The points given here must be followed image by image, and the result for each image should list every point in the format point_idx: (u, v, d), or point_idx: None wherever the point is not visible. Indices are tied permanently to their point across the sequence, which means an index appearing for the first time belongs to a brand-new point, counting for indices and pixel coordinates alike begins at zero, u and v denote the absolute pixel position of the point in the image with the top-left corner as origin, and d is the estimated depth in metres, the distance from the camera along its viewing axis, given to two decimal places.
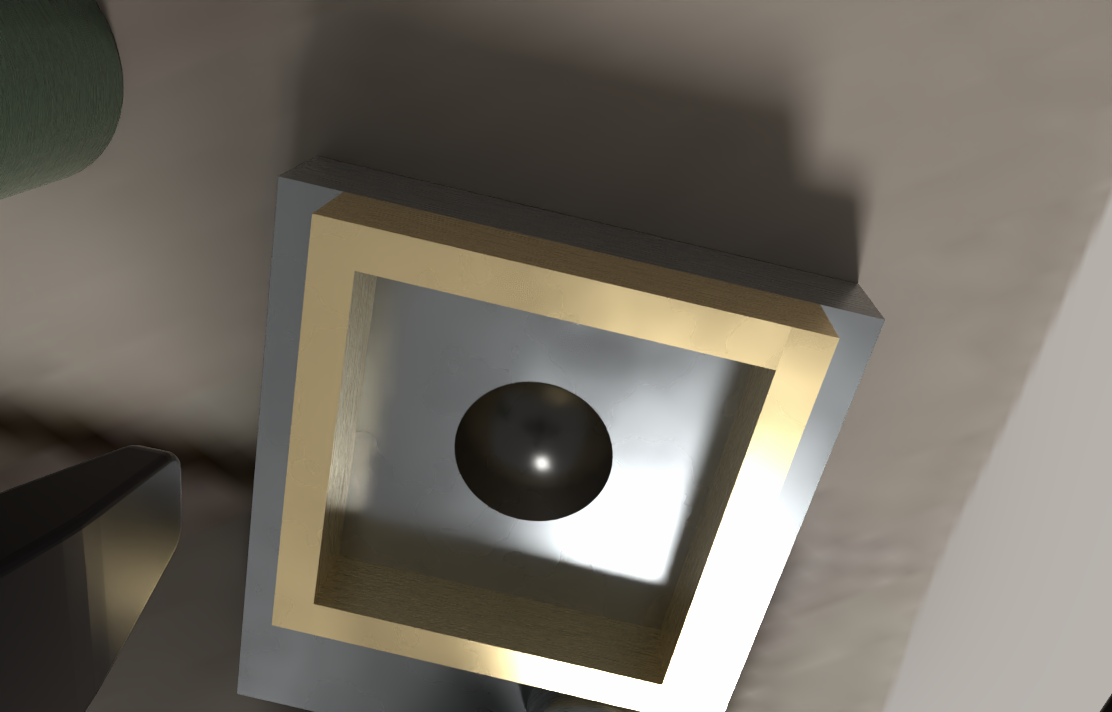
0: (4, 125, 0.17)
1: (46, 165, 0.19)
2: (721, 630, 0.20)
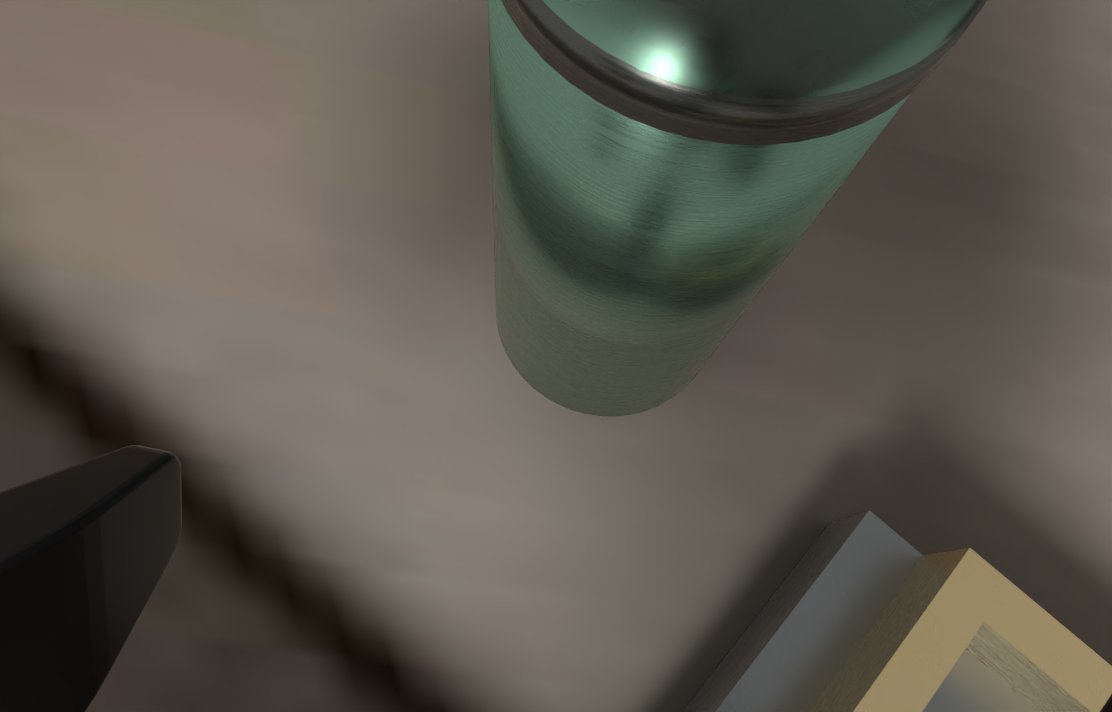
0: (724, 333, 0.18)
1: (655, 387, 0.20)
2: None
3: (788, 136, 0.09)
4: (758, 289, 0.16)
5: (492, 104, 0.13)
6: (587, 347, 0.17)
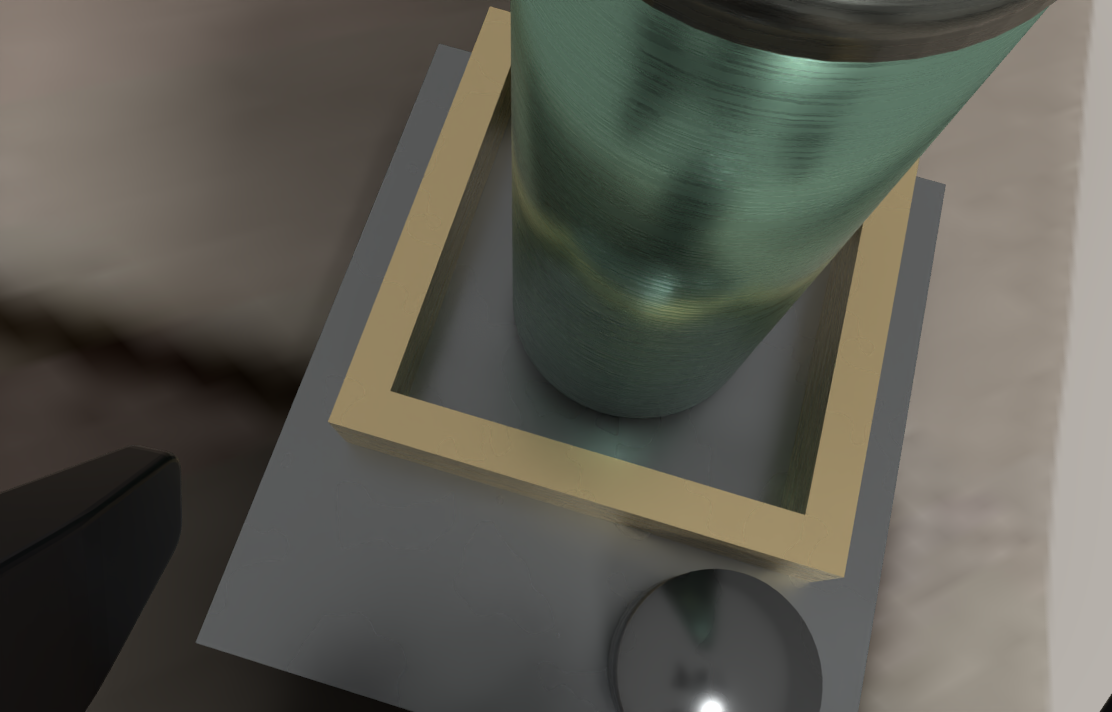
0: (774, 324, 0.16)
1: (693, 386, 0.18)
2: (865, 432, 0.18)
3: (904, 49, 0.07)
4: (820, 270, 0.14)
5: (513, 43, 0.11)
6: (620, 338, 0.15)
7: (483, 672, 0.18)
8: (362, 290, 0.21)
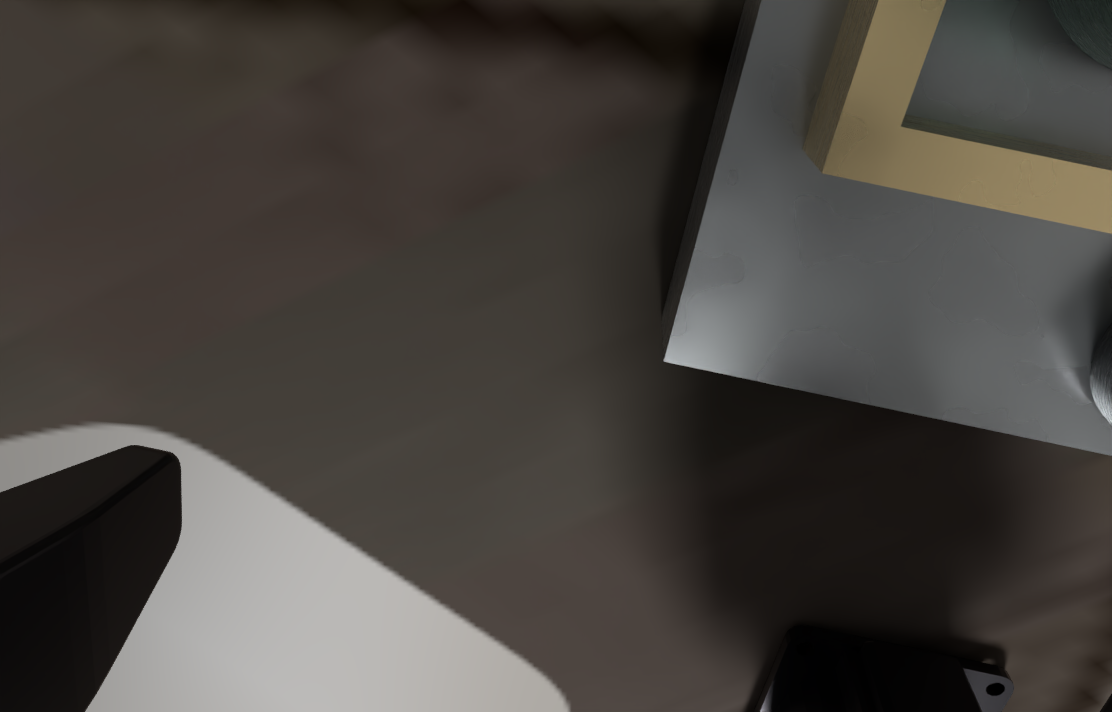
0: None
1: None
2: None
3: None
4: None
5: None
6: None
7: (957, 372, 0.18)
8: None
